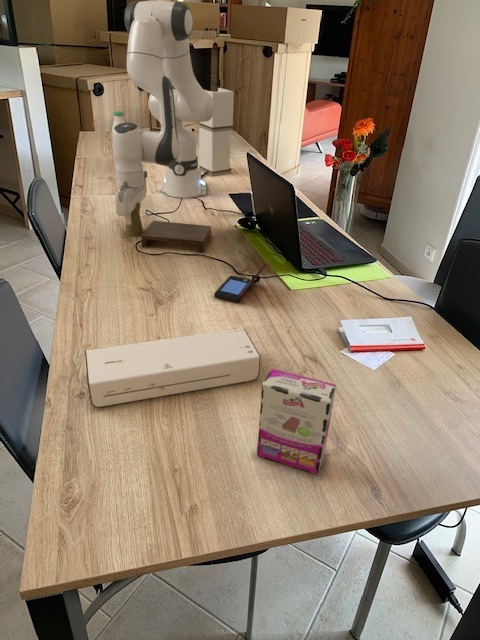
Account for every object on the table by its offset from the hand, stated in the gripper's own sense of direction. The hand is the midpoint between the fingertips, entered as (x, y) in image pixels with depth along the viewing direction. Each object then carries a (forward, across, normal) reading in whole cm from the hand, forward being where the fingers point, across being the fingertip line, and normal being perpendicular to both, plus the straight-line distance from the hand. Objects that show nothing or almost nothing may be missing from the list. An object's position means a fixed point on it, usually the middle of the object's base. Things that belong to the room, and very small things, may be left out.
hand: (133, 219), depth 164 cm
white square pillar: (+5, +79, -13) cm, 80 cm away
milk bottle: (+5, +97, +39) cm, 105 cm away
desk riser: (+5, -4, -16) cm, 17 cm away
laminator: (+5, -71, -32) cm, 78 cm away
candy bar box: (+5, -89, -58) cm, 106 cm away
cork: (+5, 0, 0) cm, 5 cm away
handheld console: (+5, -33, -41) cm, 53 cm away
